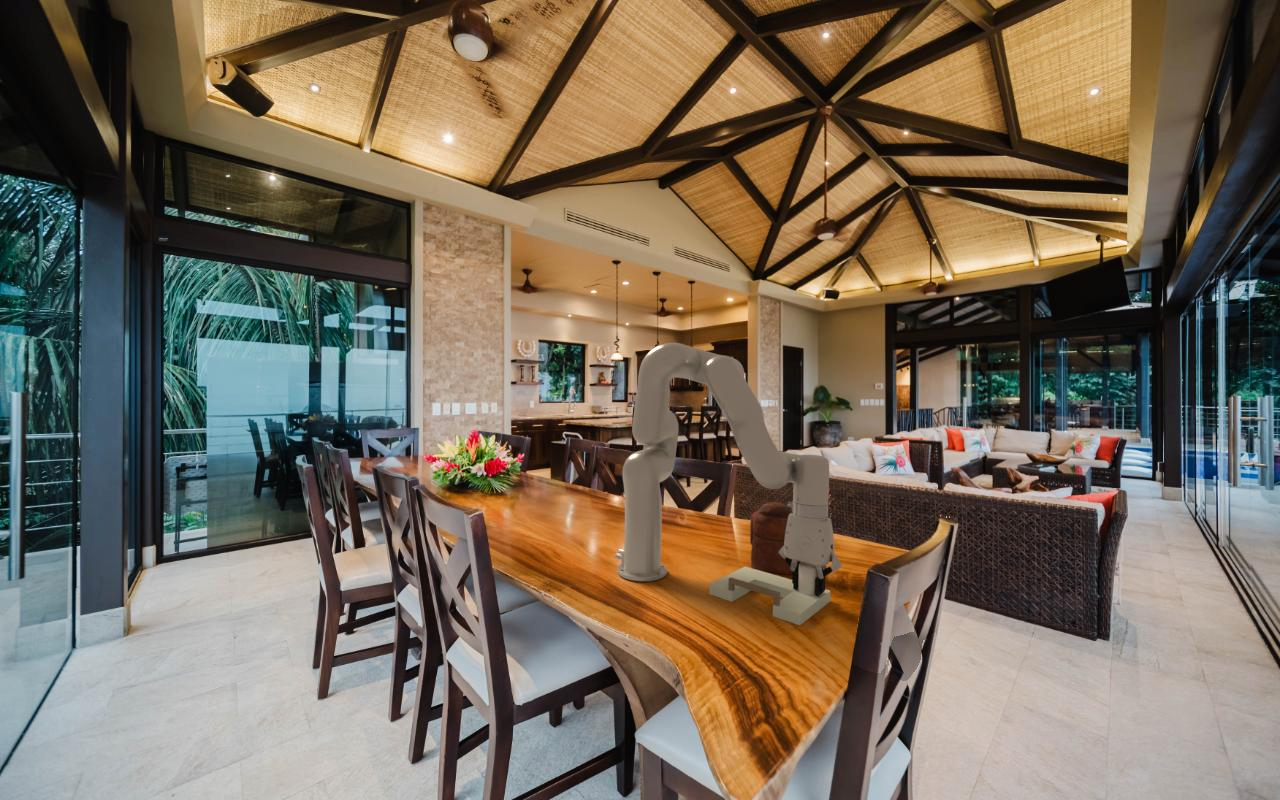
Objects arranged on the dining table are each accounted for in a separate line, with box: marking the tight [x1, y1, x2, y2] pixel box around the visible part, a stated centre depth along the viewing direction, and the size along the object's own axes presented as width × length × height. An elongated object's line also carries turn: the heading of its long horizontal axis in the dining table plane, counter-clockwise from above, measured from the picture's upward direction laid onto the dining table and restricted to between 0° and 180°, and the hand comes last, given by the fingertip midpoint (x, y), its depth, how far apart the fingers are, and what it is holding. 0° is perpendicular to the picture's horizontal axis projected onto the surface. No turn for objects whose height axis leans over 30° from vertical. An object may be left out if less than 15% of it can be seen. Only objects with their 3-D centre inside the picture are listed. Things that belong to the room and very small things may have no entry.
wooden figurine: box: [749, 501, 792, 575], centre depth 132 cm, size 12×6×18 cm, turn 75°
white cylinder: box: [798, 562, 818, 596], centre depth 112 cm, size 4×4×6 cm
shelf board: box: [708, 566, 832, 626], centre depth 114 cm, size 22×16×5 cm
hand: (808, 590), depth 112 cm, fingers closed on white cylinder, 4 cm apart
